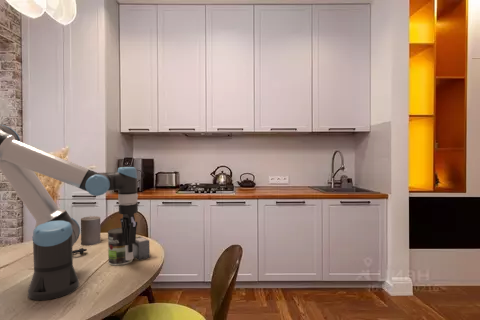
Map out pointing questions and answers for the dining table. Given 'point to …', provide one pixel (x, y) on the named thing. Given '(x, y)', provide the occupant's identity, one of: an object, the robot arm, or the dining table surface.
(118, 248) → the coffee can
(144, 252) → the box
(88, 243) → the pillar candle
